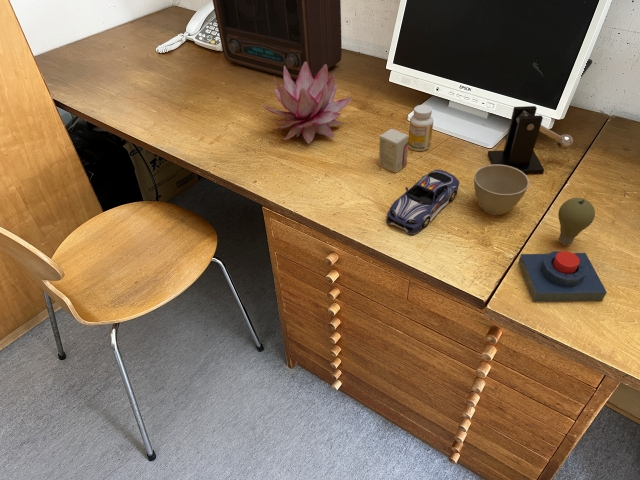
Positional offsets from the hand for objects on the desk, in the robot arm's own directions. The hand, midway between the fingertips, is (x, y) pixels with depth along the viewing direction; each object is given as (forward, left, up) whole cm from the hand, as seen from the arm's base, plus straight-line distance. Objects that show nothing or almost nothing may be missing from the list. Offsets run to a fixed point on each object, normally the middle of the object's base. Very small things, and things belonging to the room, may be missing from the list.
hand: (561, 105), depth 103 cm
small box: (+36, +5, -11) cm, 38 cm away
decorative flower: (+56, -12, -11) cm, 59 cm away
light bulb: (+7, +32, -11) cm, 35 cm away
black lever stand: (+9, +6, -11) cm, 16 cm away
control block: (+11, +41, -11) cm, 44 cm away
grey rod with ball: (+5, +6, -4) cm, 9 cm away
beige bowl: (+17, +21, -11) cm, 29 cm away
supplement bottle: (+29, -3, -11) cm, 31 cm away
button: (+11, +41, -7) cm, 43 cm away
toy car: (+31, +20, -11) cm, 39 cm away
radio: (+67, -53, -11) cm, 86 cm away
